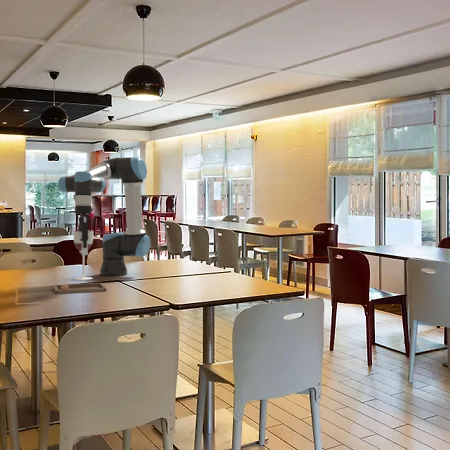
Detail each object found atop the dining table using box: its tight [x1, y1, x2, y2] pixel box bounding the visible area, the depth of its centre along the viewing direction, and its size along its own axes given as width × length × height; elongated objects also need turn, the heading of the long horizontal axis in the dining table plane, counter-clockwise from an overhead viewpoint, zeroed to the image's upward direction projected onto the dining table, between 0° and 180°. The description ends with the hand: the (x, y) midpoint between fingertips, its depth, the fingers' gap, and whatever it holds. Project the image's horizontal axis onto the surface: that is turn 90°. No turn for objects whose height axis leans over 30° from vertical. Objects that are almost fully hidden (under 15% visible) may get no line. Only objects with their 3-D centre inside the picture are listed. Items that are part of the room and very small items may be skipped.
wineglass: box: [72, 229, 94, 281], centre depth 266 cm, size 9×10×22 cm
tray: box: [53, 282, 107, 295], centre depth 265 cm, size 22×16×2 cm
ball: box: [61, 283, 69, 290], centre depth 259 cm, size 4×4×4 cm
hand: (83, 253), depth 266 cm, fingers closed on wineglass, 9 cm apart
